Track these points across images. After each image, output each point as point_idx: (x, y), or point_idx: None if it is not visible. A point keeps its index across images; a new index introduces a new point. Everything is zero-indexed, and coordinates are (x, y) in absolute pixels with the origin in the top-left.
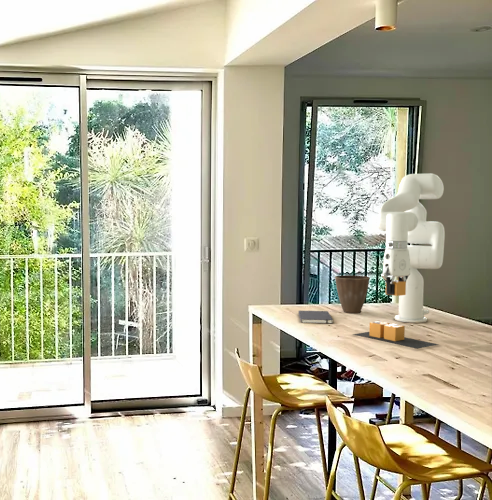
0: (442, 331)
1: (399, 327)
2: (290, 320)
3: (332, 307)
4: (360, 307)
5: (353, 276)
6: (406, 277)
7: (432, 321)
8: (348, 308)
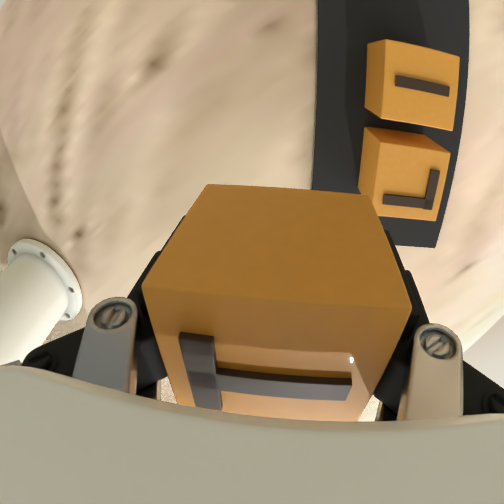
0: (56, 101)
1: (428, 48)
2: None
3: None
4: None
5: None
6: (49, 362)
7: (3, 235)
8: None
